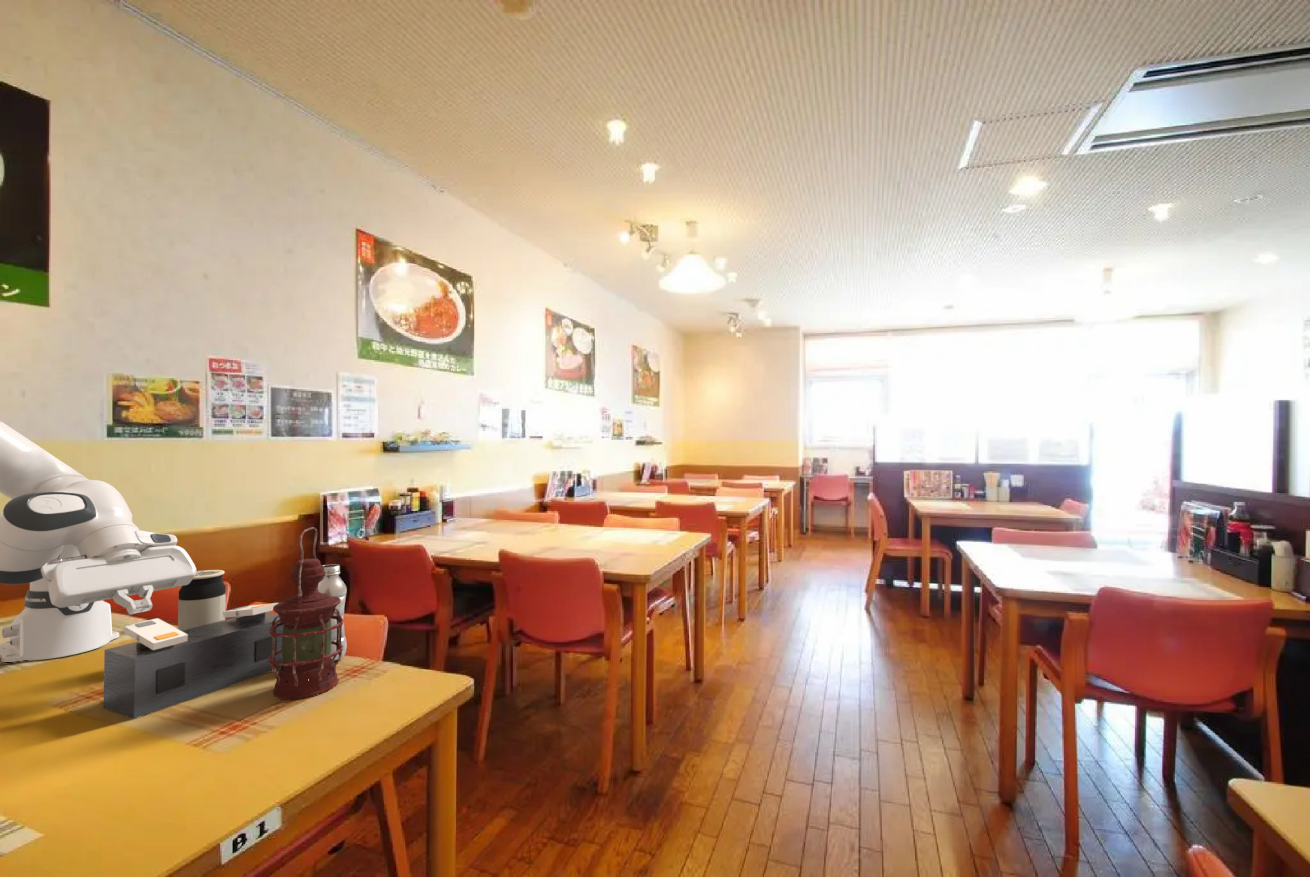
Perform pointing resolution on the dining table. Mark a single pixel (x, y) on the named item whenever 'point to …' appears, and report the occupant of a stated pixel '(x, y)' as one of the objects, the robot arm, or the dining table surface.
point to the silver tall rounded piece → (337, 589)
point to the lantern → (306, 634)
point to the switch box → (189, 665)
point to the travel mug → (202, 600)
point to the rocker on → (155, 633)
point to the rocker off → (249, 610)
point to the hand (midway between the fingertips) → (141, 610)
